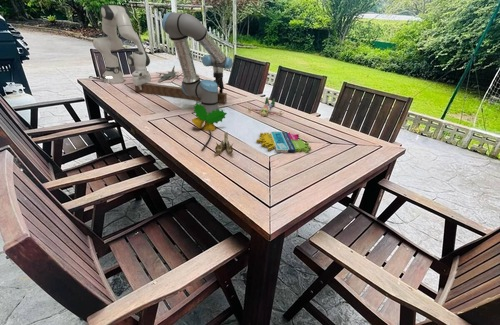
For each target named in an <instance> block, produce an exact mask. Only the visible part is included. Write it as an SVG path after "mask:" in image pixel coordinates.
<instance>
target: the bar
mask: <svg viewBox="0 0 500 325" xmlns="http://www.w3.org/2000/svg"><path fill="white" fill-rule="evenodd" d="M141 87H142V89H143V90H140V88H139V86H135V85H134V89H135V92H136V93H141V94H147V95H148V94H149V95H154V96H155V95H156V96H163V97H169V98H175V99H176V98H177V99H182V100H183V99H184V100H189V101H198V102H201V98H197V97H192V96H188V95H186V94H185V93H184V92H183V91H182V87H181V86H174V85H167V84H166V85H165V84H160V83H159V84H158V83H151V82H148V83H144V84H142V85H141ZM227 94H228V93H227V92H223V93H220V92H219V91H218V105H226V104H227Z"/></svg>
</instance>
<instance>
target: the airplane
mask: <svg viewBox="0 0 500 325" xmlns="http://www.w3.org/2000/svg"><path fill="white" fill-rule="evenodd" d="M157 74H159V75H158V77H160V78H159V79H158V81H157V83H161V82H164V81H165V80H172V79H173V78H175V79H177V78H179V77H184V75H183V74H178V71H177V72H175V65H173V67H172V69H171V71H167V73H164V72H157Z"/></svg>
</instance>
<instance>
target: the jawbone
mask: <svg viewBox="0 0 500 325" xmlns="http://www.w3.org/2000/svg"><path fill="white" fill-rule="evenodd" d="M223 135H224V136H223V140H222V139H221V142H220V144H218V142H215V144H216V146H215V148H214V149H215V152H214V154H215V155H217V156H218V155H220V153H221V152H223V151H224V150H226V152H227V153H228V155H229V156H233V155H234V154H233V153H234V148H233V144H234V143H230V140H228V139H229V138H228V137H229V136H228V135H229V133H228V131H226V132H224V134H223Z"/></svg>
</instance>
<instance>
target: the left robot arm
mask: <svg viewBox="0 0 500 325" xmlns="http://www.w3.org/2000/svg"><path fill="white" fill-rule="evenodd" d="M100 14H101V17H102V18H101V30H102V32H103V33H104V34H105V35H107V36H106V37H105V36H104V37H101V36H100V37H95V38H94V39H93V41H92V44H93V47H94V49H95V50H96V51H98V52H99V53H100V54H101V56H102V57H103V59H104V64H105V71H104V72H103V73H102V75H100V76H98V77H96V76H92V75H89V76H88V78H89V79H90V78H93V79H96V80H100V79H101V81H102V82H104V83H105V84H121V83H123V82H124V81H126V79H125V78H124V75H123V72H122V71H121V67H120V64H119V59H118V57H117V56H116V54H115V55H114V54H113V53H112V52H111V51H119V50H122V49H123V47H124V44H123V43H124V42H123V41H122V39H121V38H120V37H119V35H120V36H121V37H122V38H123V39H125V40H128V41H130V42H133V43H134V44H135V45H136V48H137V50H138V51H137V50H136V51H133V53H132V54H129V55H127V58H126V61H127V64H128V65H129V66H130V68H131V67H132V68H134V71H133V72H132V73H131V75H132V83H133V85H134V87H135V86H139V88H140V90H143V89H142V87H141V85H142V84H144V83H151V82H152V77H151V73H150V71H148V70H147V67H149V65H150V64H151V59H150V57H149V55H148V52H147V50H146V48H145V46H144V44H143V41H142V39H141V37H140V35H139V34H138V33H137V32H136V31H135V30H134V27H133V25H132V21H131V18H130V17H131V12H130V9H128V7H126V6H123V5H118V4H117V5H116V4H103V5H101V7H100ZM117 29H118V33H119V35H118V34H117Z"/></svg>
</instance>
